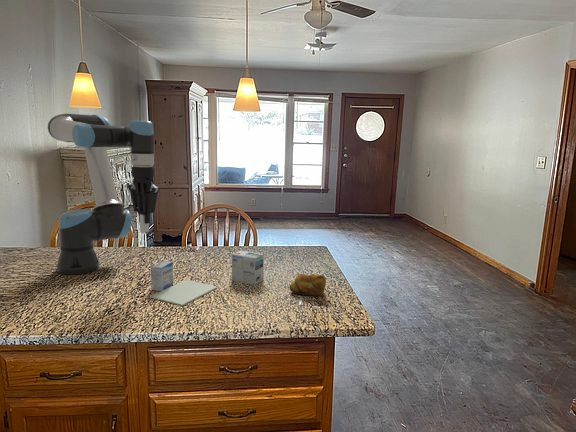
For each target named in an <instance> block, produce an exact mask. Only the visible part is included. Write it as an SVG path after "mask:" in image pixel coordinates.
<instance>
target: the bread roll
mask: <svg viewBox="0 0 576 432" xmlns="http://www.w3.org/2000/svg"><path fill="white" fill-rule="evenodd" d="M326 284H327V280H326V277H325V275H323V274H315V273H312V274H311V273H310V274H304V273H299V274H298V275H297V276H296V277H295V278H294V281H293V282H291V283H290V284H289V291H291V292H292V293H293V294H296V295H297V294H298V295H306V296H309V297H316V296H321V295H322V294H324V292H325V287H326Z"/></svg>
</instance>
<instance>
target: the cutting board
mask: <svg viewBox="0 0 576 432" xmlns="http://www.w3.org/2000/svg"><path fill="white" fill-rule="evenodd" d="M216 289H218V286H215V285H212V284H207V283H203V282H198V281H194V280H190V279H185V280H183V281H181V282H179V283H175V284H173V285H171V286H169V287H168V288H167V289H165V290H162V291H157V292H156V293H153V294H151V295H149V298H150V299H154V300H158V301H162V302H165V303H169V304H173V305H176V306H177V305H178V306H180V307H184V306H186V305H187V304H190V303H191V302H194V301H195V300H197V299H199V298H201V297H203V296H205V295H207V294H209V293H211V292H213V291H214V290H216Z"/></svg>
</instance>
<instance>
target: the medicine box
mask: <svg viewBox="0 0 576 432" xmlns="http://www.w3.org/2000/svg"><path fill="white" fill-rule="evenodd" d="M150 282H151V283H150V285H151V286H150V287H151V291H156V292H160V291H162V290H165V289H167V288H169V287H172V286H173V285H174V263H173V261H170V260H169V261H167V260H162V261H160V262H158V263H156V264H154V265H153V266H151V267H150Z"/></svg>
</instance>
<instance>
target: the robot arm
mask: <svg viewBox="0 0 576 432" xmlns="http://www.w3.org/2000/svg"><path fill="white" fill-rule="evenodd" d="M47 131H48V133H49V135H50V136H51V137H52V138H53V139H54V140H57V141H58V142H59V141H60V142H63V143H64V142H65V143H73V144H74V145H75V146H76V147H78V148H80V150H82V151H84V154H85V159H86V163H87V167H88V173H89V178H90V182H91V187H92V192H93V197H94V202H95V206H93V208H92V210H91V209H90V208H81V209H80V208H78V209H73V210H68V211H65V212H63V213H62V214H60V215H59V217H58V226H57V228H58V232H59V233H58V234H59V246H60V247H59V248H60V252H59V256H58V260H57V262H56V263H57V264H56V272H57V273H58V274H61V275H83V274H88V273H92V272H95V271H97V270H98V269H99V268H100V261H99V259H98V256H97V254H96V251H95V249H94V242H98V241H105V240H112V239H119V238H125V237H127V236H128V235H129V233H130V232H131V228H132V214H131V212H130V210H129V209H127V208H124V204H123V203H122V202H120V201H119V200H118V195H117V191H116V187H115V181H114V177H113V176H114V175H113V172H112V167H111V163H110V158H109V154H108V150H107V149H108V148H127V149H130V159H131V161H130V162H131V163H130V164H131V165H132V166H131V177H132V178H133V179H132V183H131V184H128V185H127V188H128V191H129V193H130V198H131V203H132V209H133V212H135V213H137V214H138V223H139V228H140V229H139V232H140V233H142V234H145V233H149V232H150V223H151V214H154V213H155V211H156V204H157V199H158V193H159V191H160V187H159V186H157V185H155V183H154V177H155V167H154V165H155V156H154V155H155V154H154V150H155V149H154V144H155V143H154V138H155V137H154V134H155V131H154V125H153V122H152V121H150V120H137V119H135V120H130V122H129V125H127V126H126V125H111V123H110V121H109V120H108V119H107V118H106V117H105V116H103V115H98V114H78V113H77V114H76V113H61V114H60V113H59V114H58V115H57V114H56V115H54V116H53V117H51V118H50V119H49V121H48V123H47Z"/></svg>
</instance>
